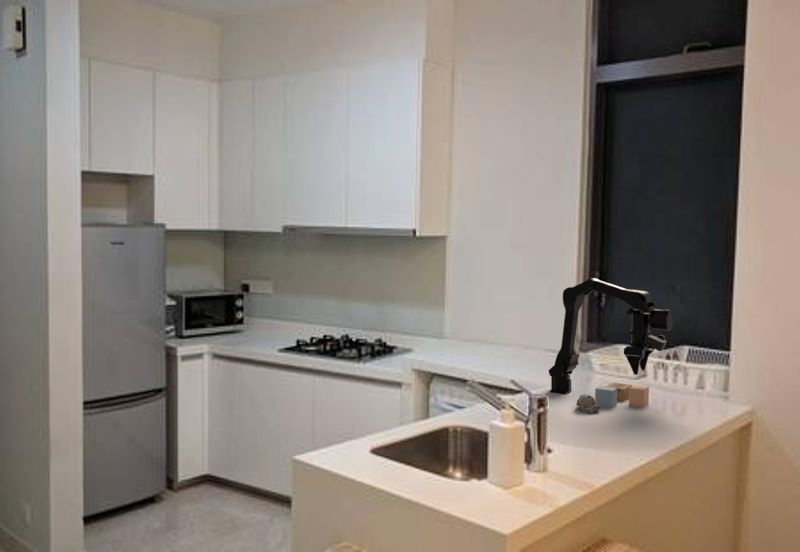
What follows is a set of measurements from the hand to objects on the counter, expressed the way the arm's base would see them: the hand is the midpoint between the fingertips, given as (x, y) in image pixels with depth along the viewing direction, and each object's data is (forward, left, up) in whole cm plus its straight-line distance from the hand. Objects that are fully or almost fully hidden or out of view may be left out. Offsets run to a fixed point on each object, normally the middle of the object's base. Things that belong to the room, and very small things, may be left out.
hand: (639, 372), depth 250 cm
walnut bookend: (-9, +6, -11) cm, 16 cm away
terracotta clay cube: (0, 0, -11) cm, 11 cm away
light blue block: (-9, -8, -11) cm, 16 cm away
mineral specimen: (-12, -18, -11) cm, 24 cm away
